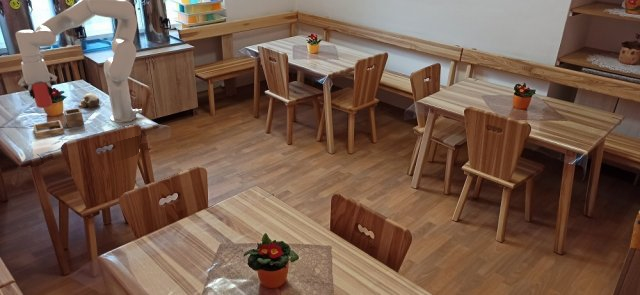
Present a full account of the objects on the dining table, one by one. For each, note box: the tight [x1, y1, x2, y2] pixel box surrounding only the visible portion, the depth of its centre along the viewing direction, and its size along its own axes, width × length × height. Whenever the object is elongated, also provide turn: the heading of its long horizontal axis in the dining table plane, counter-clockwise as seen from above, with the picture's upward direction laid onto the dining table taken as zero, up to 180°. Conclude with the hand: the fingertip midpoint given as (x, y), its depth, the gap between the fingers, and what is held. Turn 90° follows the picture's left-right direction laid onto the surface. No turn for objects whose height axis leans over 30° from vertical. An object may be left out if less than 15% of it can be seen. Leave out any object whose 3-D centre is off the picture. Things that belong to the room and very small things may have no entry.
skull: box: [77, 92, 100, 110], centre depth 262 cm, size 12×10×10 cm
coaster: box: [64, 125, 89, 137], centre depth 231 cm, size 9×9×1 cm
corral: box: [32, 119, 65, 139], centre depth 230 cm, size 12×12×3 cm
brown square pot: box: [63, 107, 85, 128], centre depth 238 cm, size 7×7×7 cm
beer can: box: [31, 82, 53, 109], centre depth 222 cm, size 7×7×12 cm
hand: (42, 96), depth 223 cm, fingers closed on beer can, 6 cm apart
